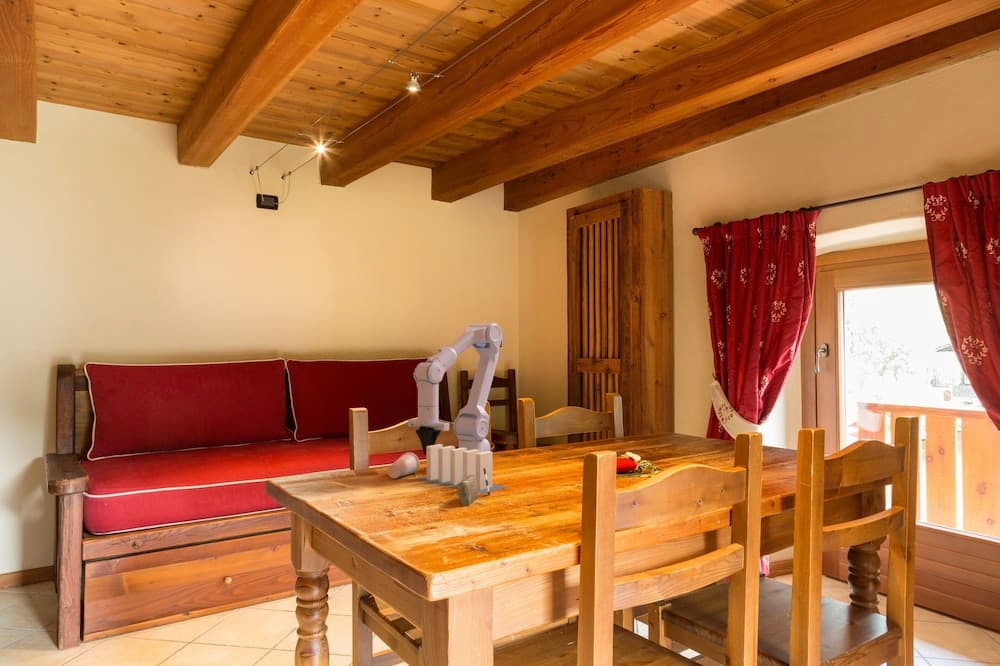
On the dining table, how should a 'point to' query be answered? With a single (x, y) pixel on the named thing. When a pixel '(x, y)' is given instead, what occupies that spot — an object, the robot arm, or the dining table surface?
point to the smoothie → (404, 465)
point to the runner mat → (447, 484)
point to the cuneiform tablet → (469, 489)
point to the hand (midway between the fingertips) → (428, 454)
